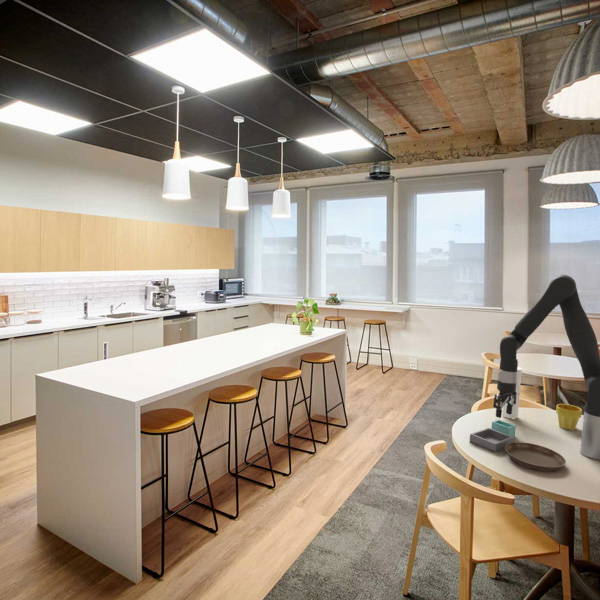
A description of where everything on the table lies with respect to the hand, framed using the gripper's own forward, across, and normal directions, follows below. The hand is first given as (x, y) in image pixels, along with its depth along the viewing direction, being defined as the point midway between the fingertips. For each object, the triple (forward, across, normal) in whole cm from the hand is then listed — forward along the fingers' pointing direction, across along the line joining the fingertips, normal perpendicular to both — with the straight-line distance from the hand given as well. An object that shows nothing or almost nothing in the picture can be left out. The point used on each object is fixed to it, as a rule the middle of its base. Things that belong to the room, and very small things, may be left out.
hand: (503, 415), depth 190 cm
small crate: (+9, 0, 0) cm, 9 cm away
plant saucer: (+9, +14, +21) cm, 27 cm away
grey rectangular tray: (+9, +14, +3) cm, 17 cm away
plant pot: (+8, -36, +12) cm, 39 cm away
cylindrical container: (+9, -26, -10) cm, 29 cm away
